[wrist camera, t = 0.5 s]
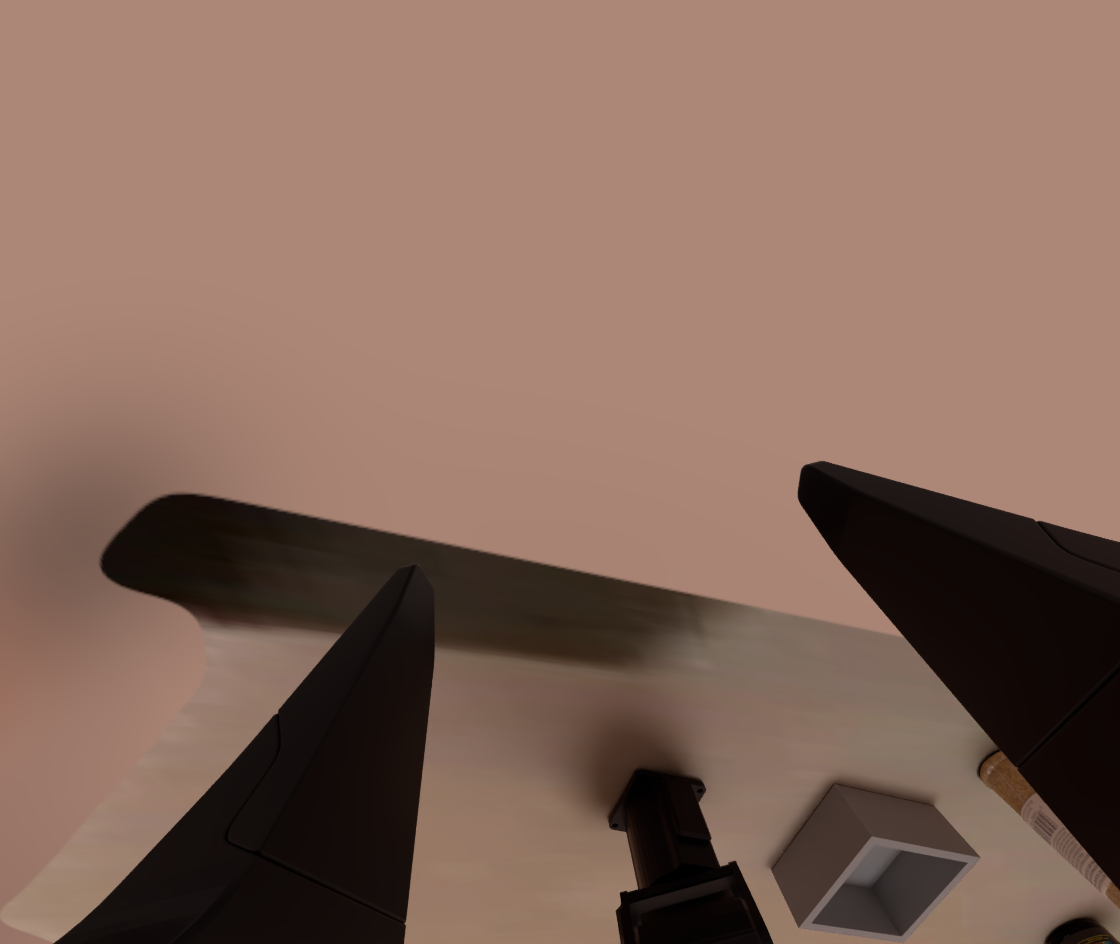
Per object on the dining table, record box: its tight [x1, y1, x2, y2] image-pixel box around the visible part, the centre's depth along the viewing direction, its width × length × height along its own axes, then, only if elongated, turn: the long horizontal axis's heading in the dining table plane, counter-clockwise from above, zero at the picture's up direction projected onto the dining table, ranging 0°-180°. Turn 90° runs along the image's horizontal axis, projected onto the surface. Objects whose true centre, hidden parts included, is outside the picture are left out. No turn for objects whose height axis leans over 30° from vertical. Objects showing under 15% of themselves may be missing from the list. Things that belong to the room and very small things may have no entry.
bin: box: [771, 784, 981, 943], centre depth 36 cm, size 12×12×4 cm
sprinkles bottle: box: [980, 751, 1120, 908], centre depth 30 cm, size 5×5×13 cm
